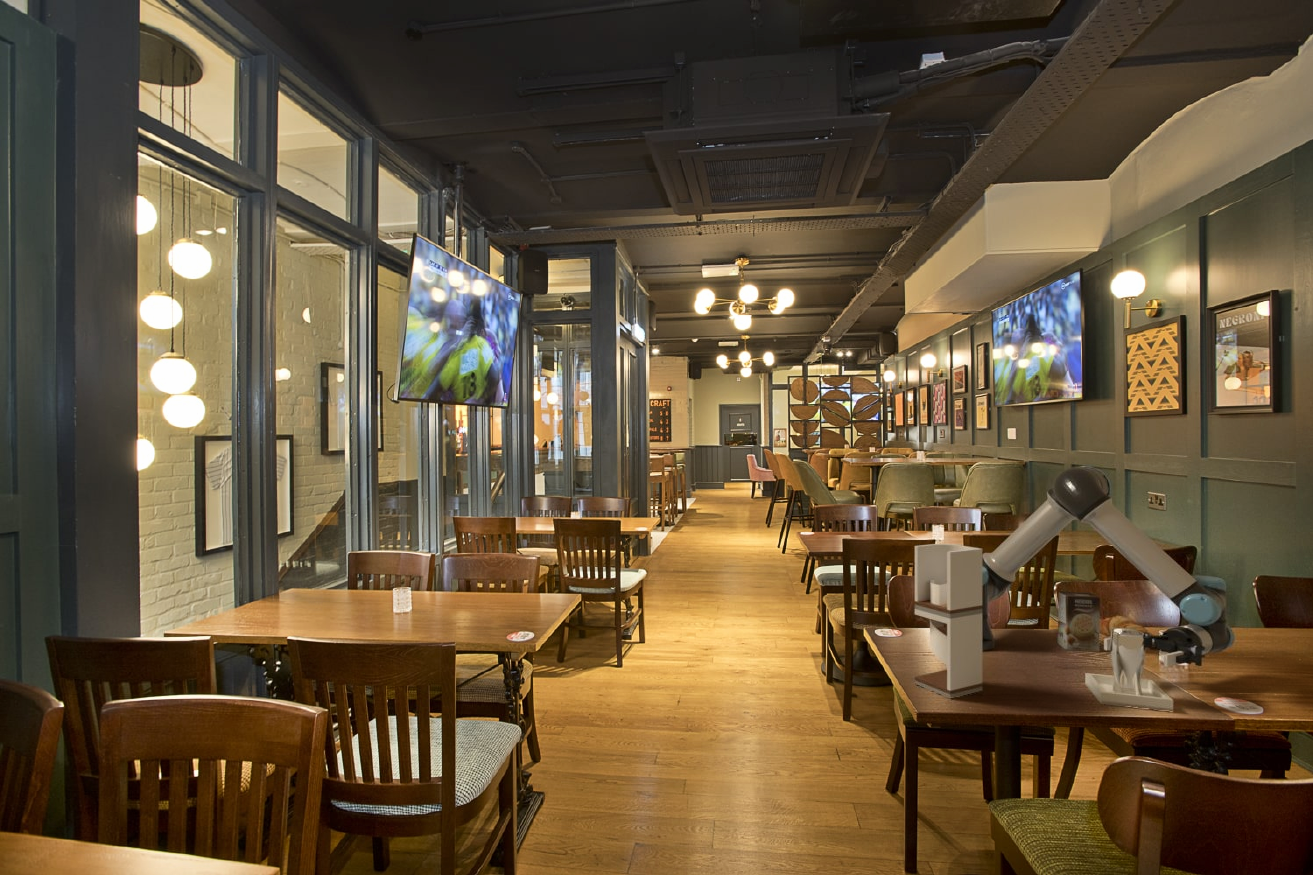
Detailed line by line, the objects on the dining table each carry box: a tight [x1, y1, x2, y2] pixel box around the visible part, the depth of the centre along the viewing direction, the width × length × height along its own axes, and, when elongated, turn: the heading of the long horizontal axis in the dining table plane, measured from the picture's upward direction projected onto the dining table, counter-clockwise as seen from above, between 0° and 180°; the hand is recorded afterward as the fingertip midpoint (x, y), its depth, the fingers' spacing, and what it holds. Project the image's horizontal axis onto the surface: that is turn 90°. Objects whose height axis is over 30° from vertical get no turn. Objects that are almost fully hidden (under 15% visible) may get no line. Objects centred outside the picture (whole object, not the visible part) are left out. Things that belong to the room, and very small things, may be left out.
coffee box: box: [1057, 590, 1101, 652], centre depth 200 cm, size 9×6×16 cm
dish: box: [1084, 672, 1174, 712], centre depth 161 cm, size 14×14×3 cm
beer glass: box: [1109, 628, 1146, 695], centre depth 161 cm, size 7×7×15 cm
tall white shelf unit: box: [914, 542, 983, 698], centre depth 167 cm, size 11×11×35 cm
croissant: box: [1099, 614, 1155, 646], centre depth 211 cm, size 21×10×8 cm, turn 18°
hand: (1134, 652), depth 162 cm, fingers open, 13 cm apart
